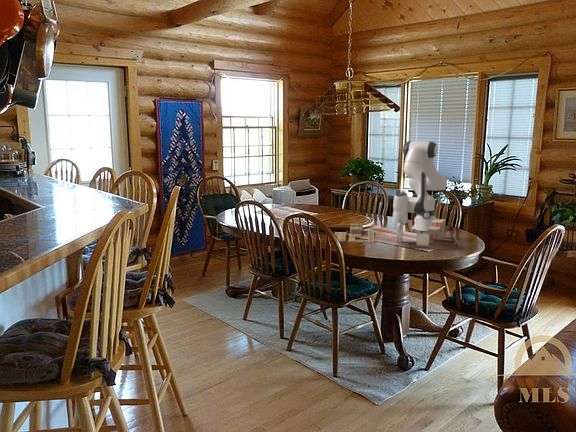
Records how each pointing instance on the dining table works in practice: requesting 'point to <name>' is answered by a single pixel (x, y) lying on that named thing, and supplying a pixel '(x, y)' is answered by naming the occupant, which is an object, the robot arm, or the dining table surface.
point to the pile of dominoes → (355, 234)
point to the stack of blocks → (436, 230)
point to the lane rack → (438, 245)
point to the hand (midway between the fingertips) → (399, 241)
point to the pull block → (418, 240)
